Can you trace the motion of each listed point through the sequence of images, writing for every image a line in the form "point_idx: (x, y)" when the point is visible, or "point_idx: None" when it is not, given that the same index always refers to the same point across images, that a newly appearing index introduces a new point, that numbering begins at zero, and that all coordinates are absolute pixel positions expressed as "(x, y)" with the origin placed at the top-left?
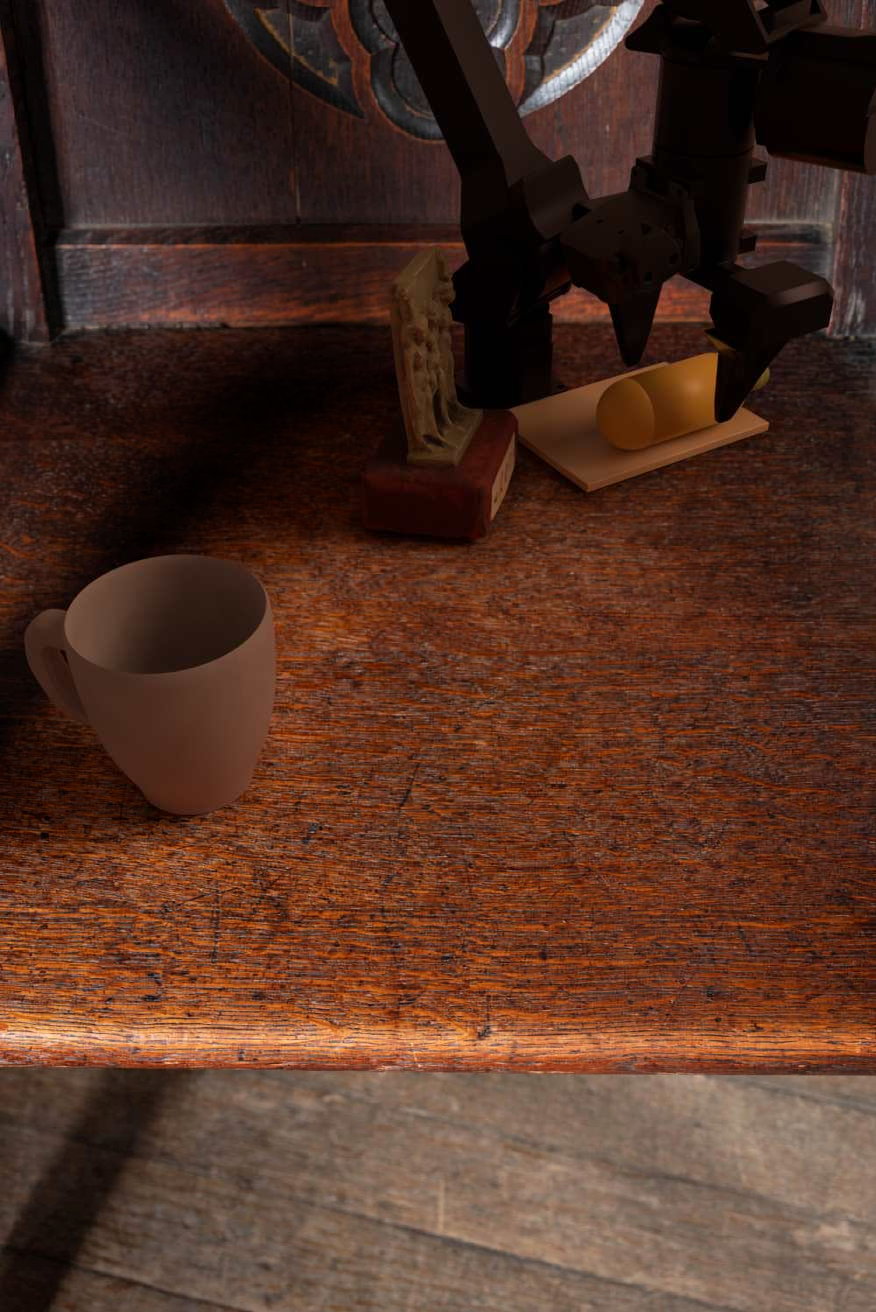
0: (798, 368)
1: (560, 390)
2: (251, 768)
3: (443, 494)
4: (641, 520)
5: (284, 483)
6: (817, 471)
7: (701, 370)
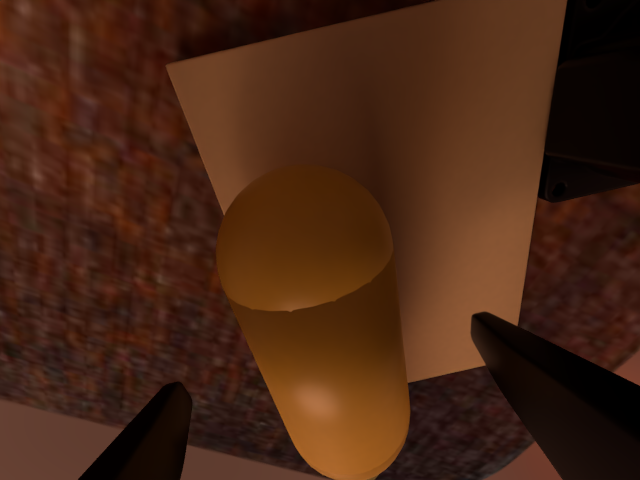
0: (416, 454)
1: (548, 183)
2: None
3: None
4: (51, 136)
5: None
6: None
7: (317, 439)
